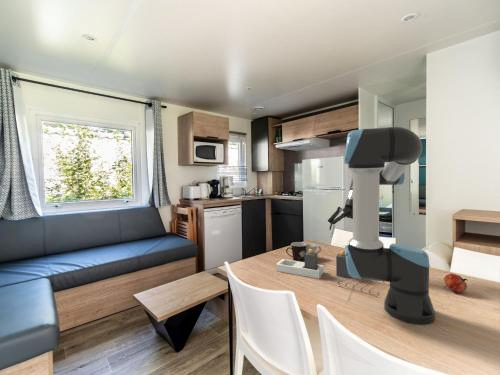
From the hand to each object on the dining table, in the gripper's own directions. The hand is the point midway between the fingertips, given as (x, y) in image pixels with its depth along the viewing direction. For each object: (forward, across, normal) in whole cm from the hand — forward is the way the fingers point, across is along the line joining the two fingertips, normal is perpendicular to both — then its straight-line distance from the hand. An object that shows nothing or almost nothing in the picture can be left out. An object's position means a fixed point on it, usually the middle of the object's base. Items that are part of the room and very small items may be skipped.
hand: (343, 240), depth 127 cm
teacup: (+14, +21, -15) cm, 29 cm away
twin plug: (+21, +9, +6) cm, 23 cm away
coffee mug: (+18, +24, -7) cm, 31 cm away
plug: (+17, -4, -1) cm, 17 cm away
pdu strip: (+22, +15, +6) cm, 27 cm away
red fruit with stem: (+7, -45, -9) cm, 47 cm away
